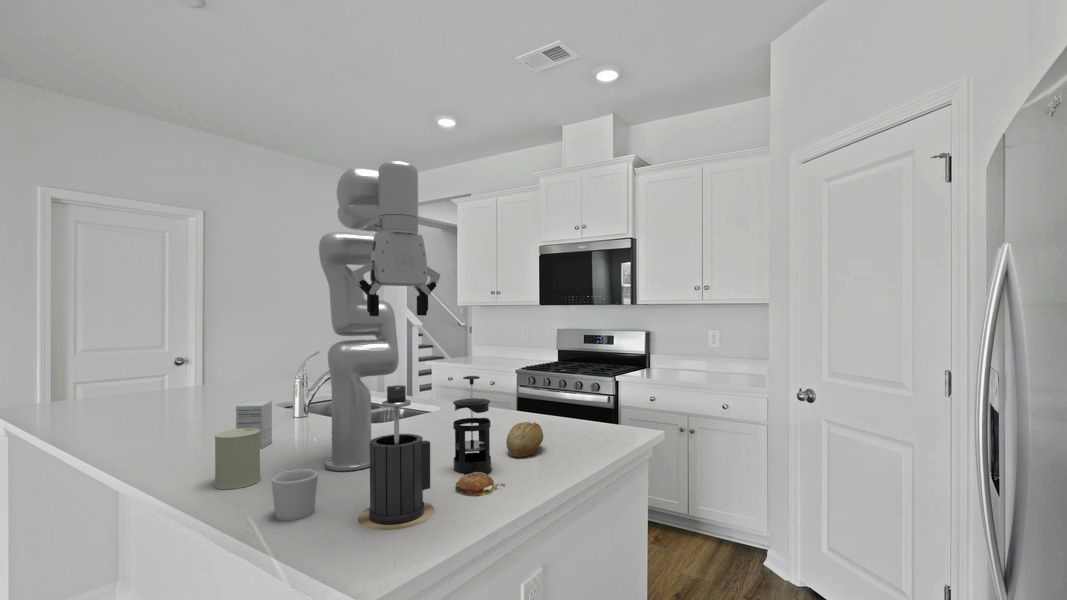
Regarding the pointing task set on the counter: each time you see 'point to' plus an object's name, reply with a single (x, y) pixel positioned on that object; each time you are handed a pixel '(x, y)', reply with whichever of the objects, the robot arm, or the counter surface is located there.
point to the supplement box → (256, 419)
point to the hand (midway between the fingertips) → (398, 315)
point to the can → (237, 458)
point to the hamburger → (476, 484)
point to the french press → (475, 460)
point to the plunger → (396, 405)
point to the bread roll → (524, 439)
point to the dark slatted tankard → (398, 478)
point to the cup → (294, 493)
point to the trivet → (428, 513)
